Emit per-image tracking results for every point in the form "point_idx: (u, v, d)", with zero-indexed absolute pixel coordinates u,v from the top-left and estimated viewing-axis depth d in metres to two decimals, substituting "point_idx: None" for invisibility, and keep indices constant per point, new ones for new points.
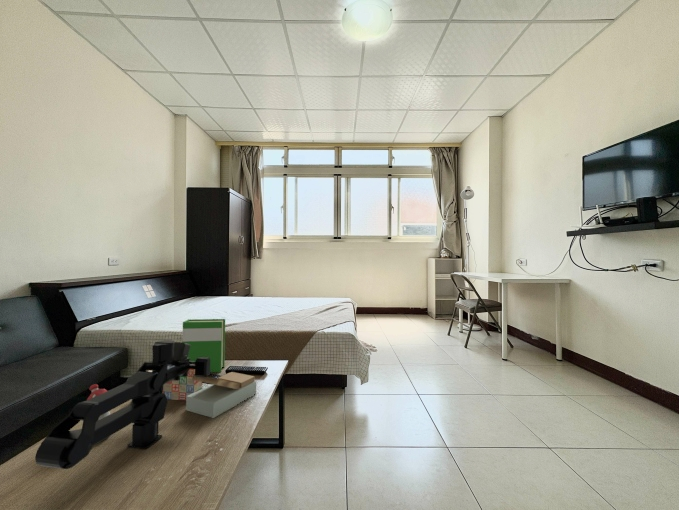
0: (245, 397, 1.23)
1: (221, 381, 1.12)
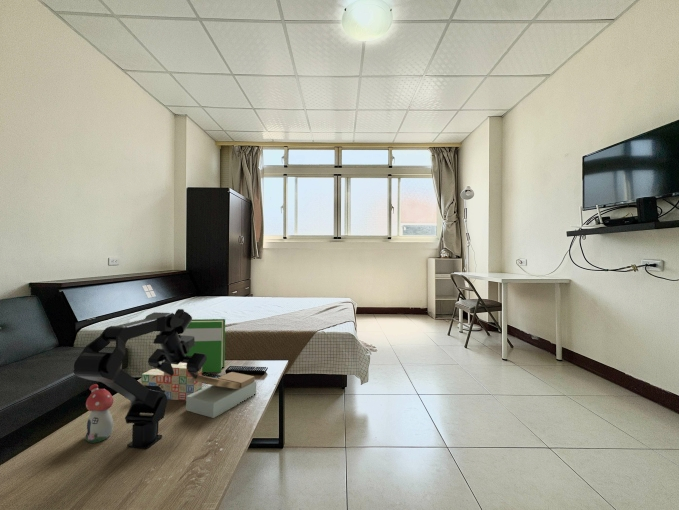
0: (245, 397, 1.23)
1: (221, 382, 1.12)
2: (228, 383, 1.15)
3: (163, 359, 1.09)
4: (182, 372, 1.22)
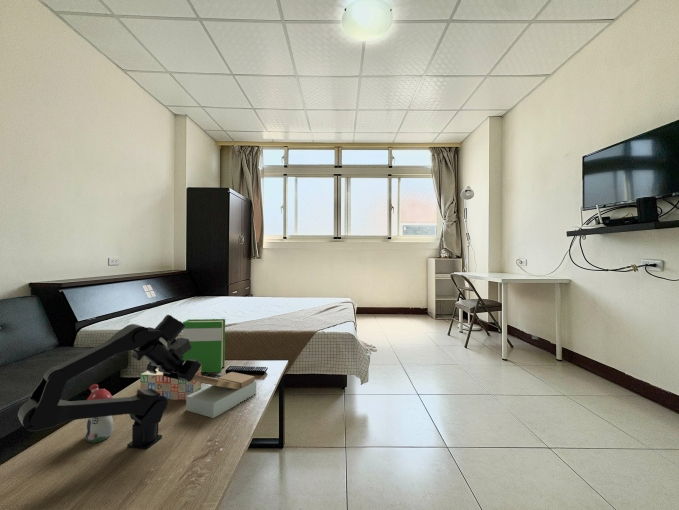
0: (245, 397, 1.23)
1: (221, 382, 1.12)
2: (228, 383, 1.15)
3: None
4: None
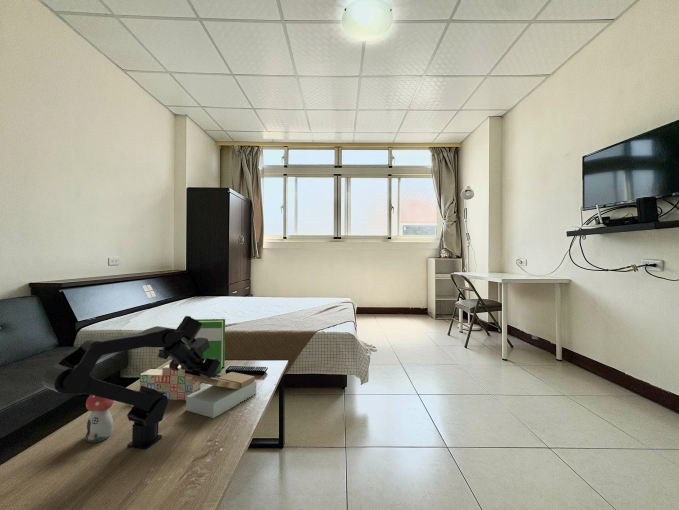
0: (245, 397, 1.23)
1: (221, 382, 1.12)
2: (228, 383, 1.15)
3: None
4: (181, 372, 1.23)
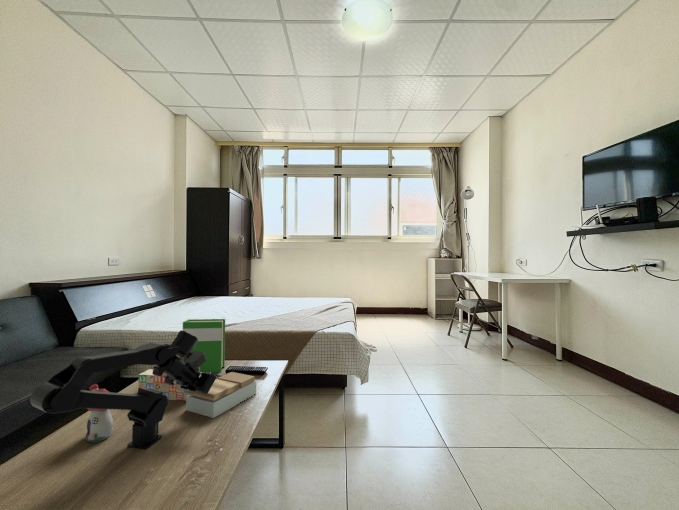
0: (245, 397, 1.23)
1: (217, 394, 1.11)
2: (226, 391, 1.14)
3: None
4: None
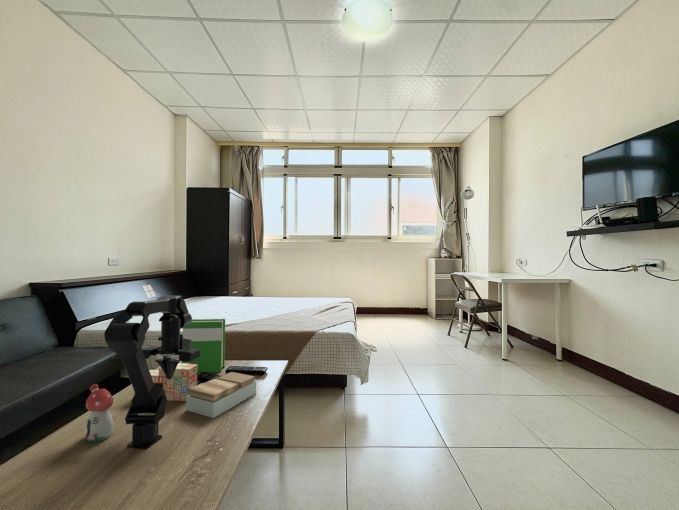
0: (245, 397, 1.23)
1: (217, 395, 1.11)
2: (226, 391, 1.14)
3: (168, 353, 1.08)
4: (177, 373, 1.22)
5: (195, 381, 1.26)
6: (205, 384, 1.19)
